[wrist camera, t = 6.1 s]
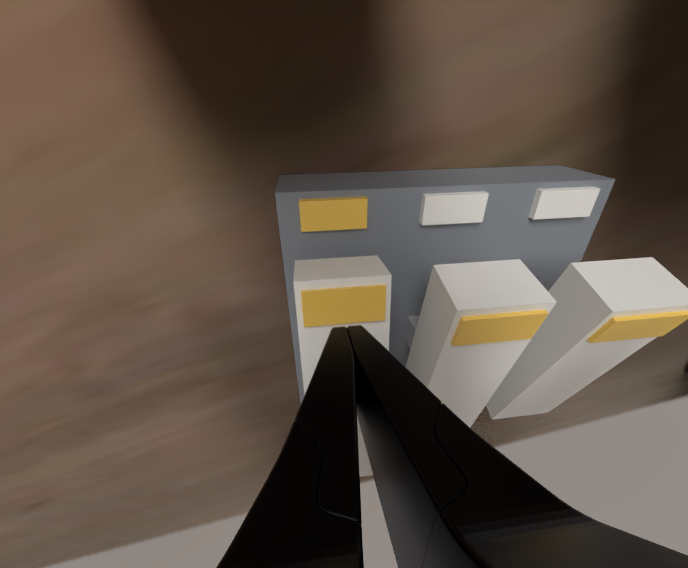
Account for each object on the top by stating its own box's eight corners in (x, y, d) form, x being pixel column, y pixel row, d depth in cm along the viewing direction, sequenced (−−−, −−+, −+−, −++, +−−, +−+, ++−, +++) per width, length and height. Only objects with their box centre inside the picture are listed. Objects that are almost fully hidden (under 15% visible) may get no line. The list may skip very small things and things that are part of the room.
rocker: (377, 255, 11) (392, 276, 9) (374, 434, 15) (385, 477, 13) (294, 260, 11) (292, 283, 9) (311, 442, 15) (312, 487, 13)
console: (560, 165, 15) (639, 185, 11) (494, 366, 21) (531, 417, 18) (279, 174, 13) (272, 201, 10) (302, 385, 20) (303, 445, 17)
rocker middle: (519, 259, 10) (560, 305, 9) (451, 393, 17) (468, 434, 15) (433, 265, 10) (459, 314, 9) (396, 399, 16) (408, 442, 15)
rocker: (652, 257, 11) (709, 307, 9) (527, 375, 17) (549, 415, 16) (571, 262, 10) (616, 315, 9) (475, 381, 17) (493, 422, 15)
